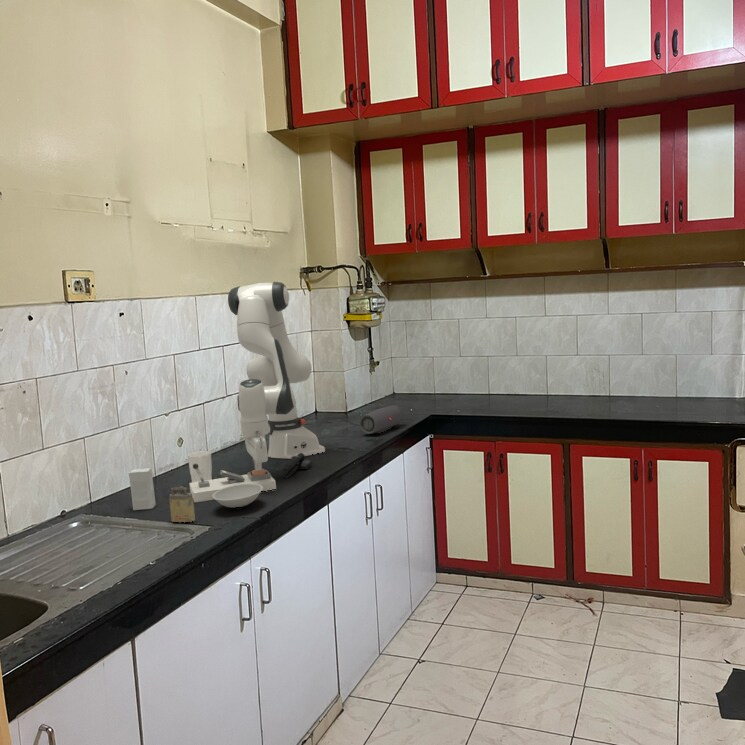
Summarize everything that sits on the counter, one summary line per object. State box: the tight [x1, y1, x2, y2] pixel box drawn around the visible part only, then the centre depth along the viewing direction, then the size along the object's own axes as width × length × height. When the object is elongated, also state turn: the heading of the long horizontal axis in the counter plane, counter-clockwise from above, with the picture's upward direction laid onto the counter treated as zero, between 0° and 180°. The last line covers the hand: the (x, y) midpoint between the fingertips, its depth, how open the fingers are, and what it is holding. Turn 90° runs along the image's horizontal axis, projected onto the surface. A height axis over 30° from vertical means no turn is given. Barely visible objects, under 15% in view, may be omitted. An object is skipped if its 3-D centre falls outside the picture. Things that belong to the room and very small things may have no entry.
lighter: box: [168, 485, 196, 524], centre depth 213 cm, size 7×4×10 cm, turn 77°
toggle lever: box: [193, 464, 204, 482], centre depth 239 cm, size 2×2×7 cm
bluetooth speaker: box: [358, 405, 403, 435], centre depth 322 cm, size 23×9×10 cm, turn 148°
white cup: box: [187, 450, 213, 483], centre depth 257 cm, size 8×8×10 cm
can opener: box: [282, 453, 312, 479], centre depth 262 cm, size 18×7×6 cm, turn 161°
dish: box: [212, 483, 263, 509], centre depth 223 cm, size 18×14×5 cm
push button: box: [251, 468, 266, 476], centre depth 245 cm, size 4×4×2 cm
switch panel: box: [189, 469, 277, 503], centre depth 243 cm, size 26×14×5 cm, turn 109°
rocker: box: [219, 469, 245, 482], centre depth 242 cm, size 8×4×1 cm, turn 109°
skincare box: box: [128, 467, 156, 511], centre depth 230 cm, size 6×4×12 cm
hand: (258, 470), depth 245 cm, fingers closed, pressing on push button
